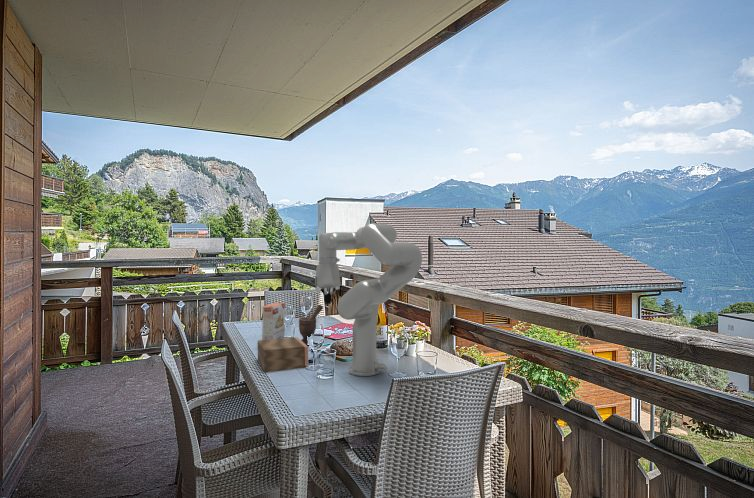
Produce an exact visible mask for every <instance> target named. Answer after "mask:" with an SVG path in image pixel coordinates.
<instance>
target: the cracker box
mask: <svg viewBox="0 0 754 498" xmlns="http://www.w3.org/2000/svg"><path fill="white" fill-rule="evenodd" d="M285 310H286V304H285V302H272V303H270V304H266V305H264V306H262V318H261V320H262V327H261V328H262V329H261V330H262V332H261V333H262V335H261V337H262V339H261V340H269V339H280V338H285V336H286V335H285V327H286V325H285V321H286V320H285V315H286V314H285V313H286V311H285Z"/></svg>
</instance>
